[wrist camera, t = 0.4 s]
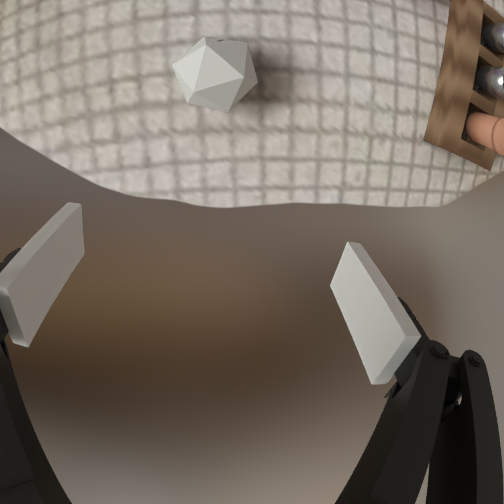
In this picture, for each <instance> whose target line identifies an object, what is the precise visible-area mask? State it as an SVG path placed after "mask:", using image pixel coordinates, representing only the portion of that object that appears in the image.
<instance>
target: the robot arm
mask: <svg viewBox="0 0 504 504" xmlns="http://www.w3.org/2000/svg"><path fill="white" fill-rule="evenodd" d="M83 255H84V242H83V228H82V209H81V204H77V203H67V204H66V205H65V206H64V207H63V208H62V209H60V210H59V211H58V212H57V213H56V214H55V215H54V216H53V217H52V218H51V219H50V220H49V221H48V222H47V223H46V224H45V225H44V226H43V227H42V228H41V229H40V230H39V231H38V232H37V233H36V234H35V235H34V236H33V237H32V238H31V239H30V240H29V241H28V243H26V245H25V246H24V247H23V248H22V249H20V248H18V249H17V250H14V251H13V252H11V253H10V254H8V255H7V257H6V258H5V259H4V260H3V261H2V263H0V504H72V503H71V502H70V500H69V498H68V497H67V495H66V493H65V492H64V490H63V488H62V486H61V485H60V483H59V481H58V479H57V477H56V475H55V473H54V472H53V469H52V467H51V466H50V464H49V461H48V459H47V457H46V455H45V453H44V451H43V449H42V447H41V444H40V442H39V440H38V438H37V436H36V433H35V431H34V428H33V426H32V423H31V421H30V418H29V416H28V413H27V410H26V407H25V405H24V402H23V399H22V396H21V393H20V390H19V387H18V384H17V381H16V377H15V374H14V370H13V367H12V363H11V359H10V355H9V351H8V347H7V344H6V342H5V340H4V338H5V336H6V334H7V333H8V332H9V334H10V337H11V339H12V341H13V343H16V344H19V345H22V346H25V347H29V345H30V343H31V341H32V339H33V337H34V335H35V334H36V332H37V330H38V328H39V326H40V324H41V323H42V321H43V319H44V317H45V315H46V314H47V312H48V310H49V309H50V307H51V305H52V304H53V302H54V300H55V299H56V297H57V295H58V293H59V292H60V290H61V289H62V287H63V285H64V284H65V282H66V281H67V279H68V278H69V276H70V274H71V273H72V271H73V270H74V268H75V267H76V265H77V264H78V262H79V260H80V259H81V257H82V256H83ZM330 286H331V289H332V291H333V293H334V295H335V297H336V300H337V302H338V304H339V307H340V309H341V311H342V314H343V316H344V318H345V321H346V323H347V325H348V328H349V330H350V332H351V335H352V337H353V339H354V342H355V344H356V347H357V349H358V352H359V354H360V357H361V359H362V362H363V364H364V367H365V369H366V372H367V374H368V377H369V379H370V382H371V384H385V383H388V381H389V380H390V379H391V377H392V376H393V375H394V374H395V376H396V379H397V382H396V383H395V384H394V385H393V387H392V388H391V389H390V390H389V391H388V393H387V394H386V395H385V396H384V397H385V398H387V397H388V396H389V398H388V400H387V403H386V405H385V407H384V410H383V412H382V414H381V417H380V419H379V421H378V423H377V425H376V428H375V430H374V432H373V434H372V436H371V438H370V440H369V443H368V444H367V447H366V449H365V451H364V453H363V455H362V456H361V458H360V460H359V462H358V464H357V466H356V468H355V470H354V471H353V473H352V475H351V477H350V479H349V480H348V482H347V484H346V486H345V487H344V489H343V491H342V493H341V494H340V496H339V497H338V499H337V501H336V502H335V504H415V502H416V499H417V497H418V494H419V491H420V488H421V485H422V483H423V480H424V477H425V474H426V471H427V468H428V464H429V476H428V487H427V496H426V504H503V471H502V457H501V447H500V438H499V430H498V423H497V417H496V411H495V405H494V400H493V395H492V390H491V386H490V381H489V377H488V373H487V368H486V365H485V362H484V360H483V359H482V357H481V356H480V355H479V354H478V353H477V352H474V351H472V350H466V351H465V352H464V353H463V355H462V356H461V357H460V358H458V357H454V356H450V353H449V352H448V350H447V349H446V347H445V346H444V345H442V344H441V343H439V342H437V341H434V340H429V338H428V337H427V335H426V333H425V332H424V330H423V328H422V327H421V325H420V324H419V322H418V321H417V320H416V317H415V316H414V314H412V311H411V310H410V308H409V307H408V305H407V304H406V303H405V302H404V301H403V300H402V299H400V298H399V297H397V296H396V295H395V293H394V292H393V290H392V289H391V287H390V286H389V284H388V283H387V281H386V280H385V279H384V277H383V275H382V274H381V273H380V271H379V270H378V268H377V267H376V265H375V264H374V262H373V261H372V260H371V258H370V257H369V255H368V254H367V252H366V251H365V250H364V248H363V247H362V245H361V244H359V243H353V242H347V244H346V247H345V249H344V252H343V254H342V257H341V260H340V262H339V265H338V267H337V270H336V272H335V275H334V277H333V280H332V282H331V285H330ZM461 396H462V400H461V404H460V405H459V404H458V399H459V398H460V397H461ZM429 461H430V462H429Z"/></svg>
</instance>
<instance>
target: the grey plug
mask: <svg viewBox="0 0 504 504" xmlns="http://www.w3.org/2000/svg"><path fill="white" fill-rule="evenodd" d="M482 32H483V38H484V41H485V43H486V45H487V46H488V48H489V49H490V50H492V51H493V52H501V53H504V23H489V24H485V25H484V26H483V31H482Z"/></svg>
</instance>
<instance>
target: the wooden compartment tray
mask: <svg viewBox="0 0 504 504" xmlns="http://www.w3.org/2000/svg"><path fill="white" fill-rule="evenodd" d="M489 23H504V18H503V17H502V16H501V15H500V14H499V13H497V12H496V11H495V10H494V9H493V8H492V7H490V6H489V5H488V4H487V3H485V2H484V1H483V0H450V9H449V18H448V26H447V33H446V40H445V46H444V52H443V58H442V63H441V69H440V74H439V79H438V83H437V88H436V93H435V97H434V101H433V105H432V109H431V113H430V117H429V121H428V125H427V129H426V132H425V136H424V140H425V141H427V142H429V143H432V144H434V145H436V146H439V147H441V148H443V149H446V150H448V151H450V152H452V153H454V154H457V155H459V156H461V157H463V158H465V159H467V160H469V161H471V162H473V163H475V164H477V165H479V166H481V167H483V168H485V169H487V170H489V171H491V167H492V164H493V161H494V158H495V154H496V152H495V150H493V149H491V148H488V147H486V146H484V145H481V144H479V143H476V142H474V141H472V140H471V139H470V138H469V137H468V135H467V139H466V141H464V140H462V139H461V135H462V132H463V128H464V124H465V120H466V116H467V112H468V108H469V109H471V110H472V111H478V112H481V113H485V114H488V115H491V116H495V117H498V118H501V117H504V99H501V98H497V97H492V96H488V95H485V94H483V93H482V92H481V91H480V89H479V88H478V93H477V92H475V91H474V90H472V89H473V84H474V79H475V73H476V67H478V68H479V67H480V66H482V65H486V66H494V67H502V68H504V53H501V52H493V51H492V50H490V49H489V48H488V46H487V45H486V44H485V47H483V46H482V45H481V44H480V39H481V30H482V29H483V26H484V25H485V24H489Z"/></svg>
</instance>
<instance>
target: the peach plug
mask: <svg viewBox="0 0 504 504" xmlns="http://www.w3.org/2000/svg"><path fill="white" fill-rule="evenodd" d="M466 132H467V135H468V137H469V138H470V139H471V140H472V141H474V142H476V143H479V144H481V145H484V146H486V147H488V148H491V149H493V150H495V152H496V153H497V154H499V155H501V156H503V157H504V117H501V118H498V117H495V116H491V115H488V114H485V113H481V112H478V111H474V112H472V113H470V114H469V116H468V118H467V121H466Z"/></svg>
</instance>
